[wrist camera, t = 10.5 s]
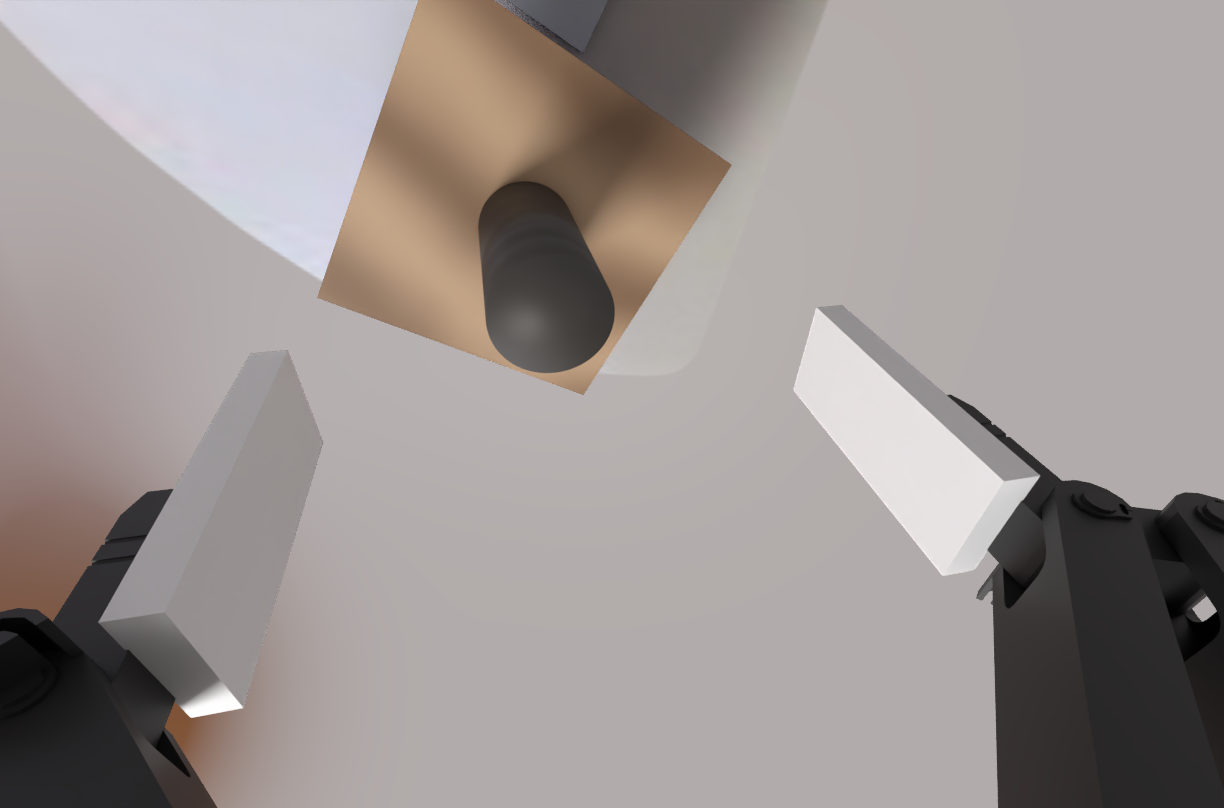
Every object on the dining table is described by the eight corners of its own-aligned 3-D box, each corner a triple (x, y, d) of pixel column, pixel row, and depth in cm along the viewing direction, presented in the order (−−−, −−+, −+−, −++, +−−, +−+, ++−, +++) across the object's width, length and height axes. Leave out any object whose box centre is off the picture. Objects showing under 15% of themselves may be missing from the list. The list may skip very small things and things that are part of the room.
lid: (434, -40, 18) (418, -60, 11) (721, 158, 24) (830, 228, 17) (322, 285, 24) (264, 412, 17) (579, 382, 30) (617, 505, 23)
